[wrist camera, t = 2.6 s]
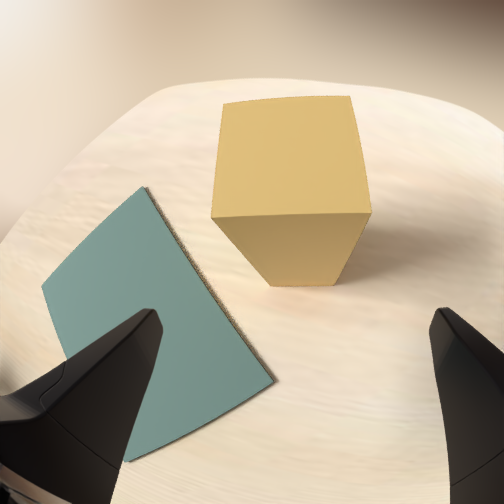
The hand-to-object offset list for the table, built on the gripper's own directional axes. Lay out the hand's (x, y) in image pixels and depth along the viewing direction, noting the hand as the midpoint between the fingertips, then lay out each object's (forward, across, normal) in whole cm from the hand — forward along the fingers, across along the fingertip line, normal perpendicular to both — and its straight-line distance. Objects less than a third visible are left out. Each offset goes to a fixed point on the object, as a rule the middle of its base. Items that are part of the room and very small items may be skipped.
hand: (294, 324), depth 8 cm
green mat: (+8, +14, +9) cm, 18 cm away
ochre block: (+12, 0, +5) cm, 13 cm away
